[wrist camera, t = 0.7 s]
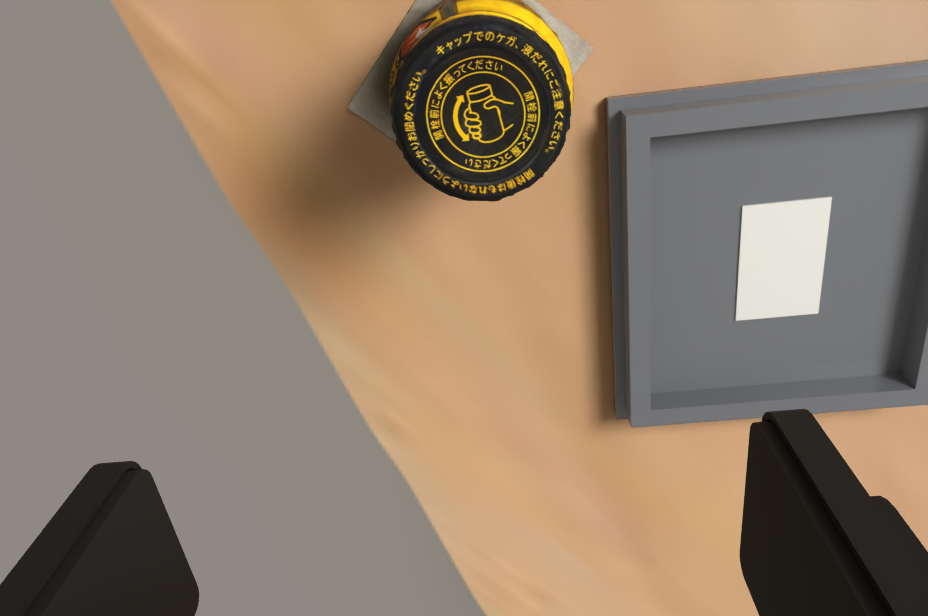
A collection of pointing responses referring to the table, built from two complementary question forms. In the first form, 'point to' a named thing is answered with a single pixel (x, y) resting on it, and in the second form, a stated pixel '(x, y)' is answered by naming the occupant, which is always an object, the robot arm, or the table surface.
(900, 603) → the robot arm
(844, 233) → the dock
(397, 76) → the condiment
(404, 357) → the table surface
